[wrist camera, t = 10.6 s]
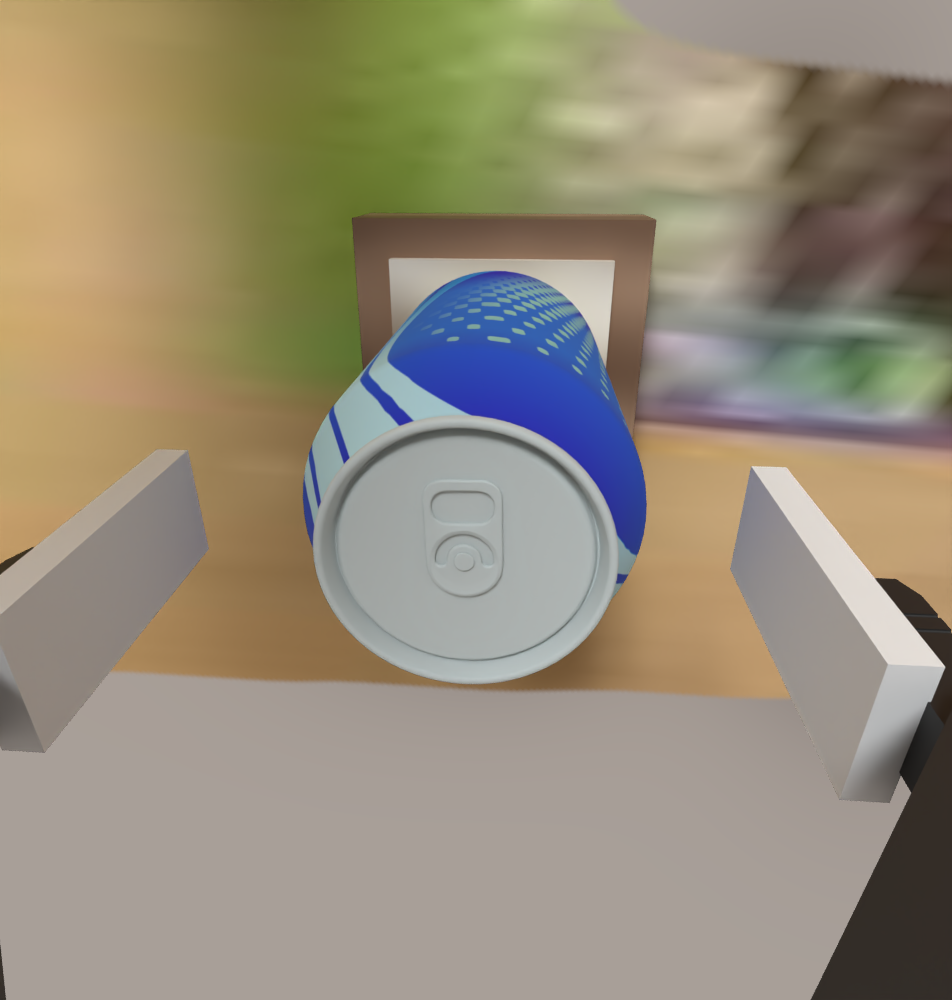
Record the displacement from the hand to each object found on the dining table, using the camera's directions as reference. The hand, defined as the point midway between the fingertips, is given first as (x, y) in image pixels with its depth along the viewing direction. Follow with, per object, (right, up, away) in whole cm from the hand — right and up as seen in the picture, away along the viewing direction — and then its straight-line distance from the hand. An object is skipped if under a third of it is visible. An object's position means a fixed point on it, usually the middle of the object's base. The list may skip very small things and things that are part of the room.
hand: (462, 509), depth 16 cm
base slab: (+2, +7, +16) cm, 18 cm away
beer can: (+1, +6, +13) cm, 14 cm away
